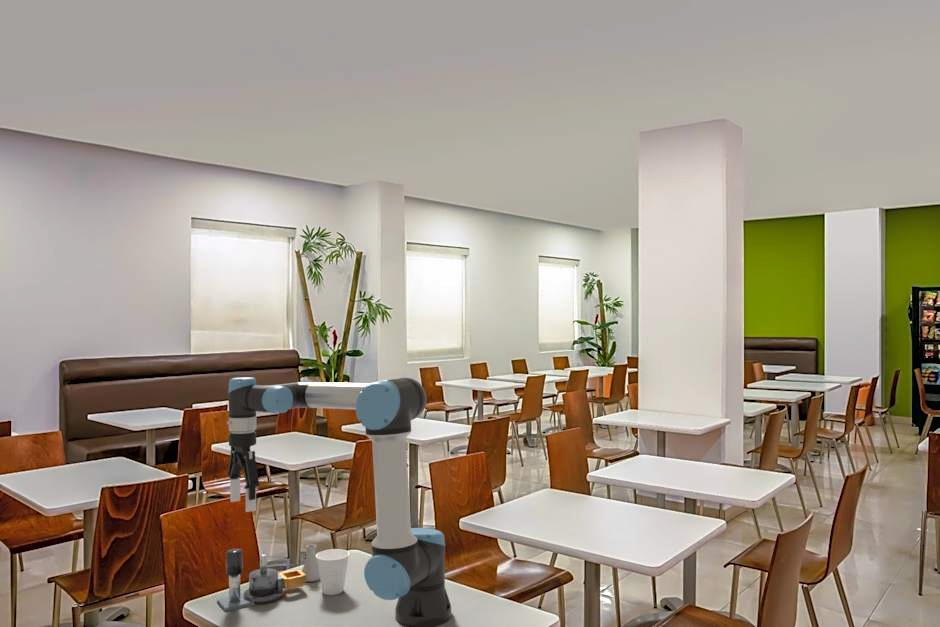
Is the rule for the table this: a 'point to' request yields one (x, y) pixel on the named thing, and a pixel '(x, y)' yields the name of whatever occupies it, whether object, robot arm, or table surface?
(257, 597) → the dark grey disc
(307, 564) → the flask
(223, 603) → the key mat
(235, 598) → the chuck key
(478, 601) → the table surface
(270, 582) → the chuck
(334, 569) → the cup
